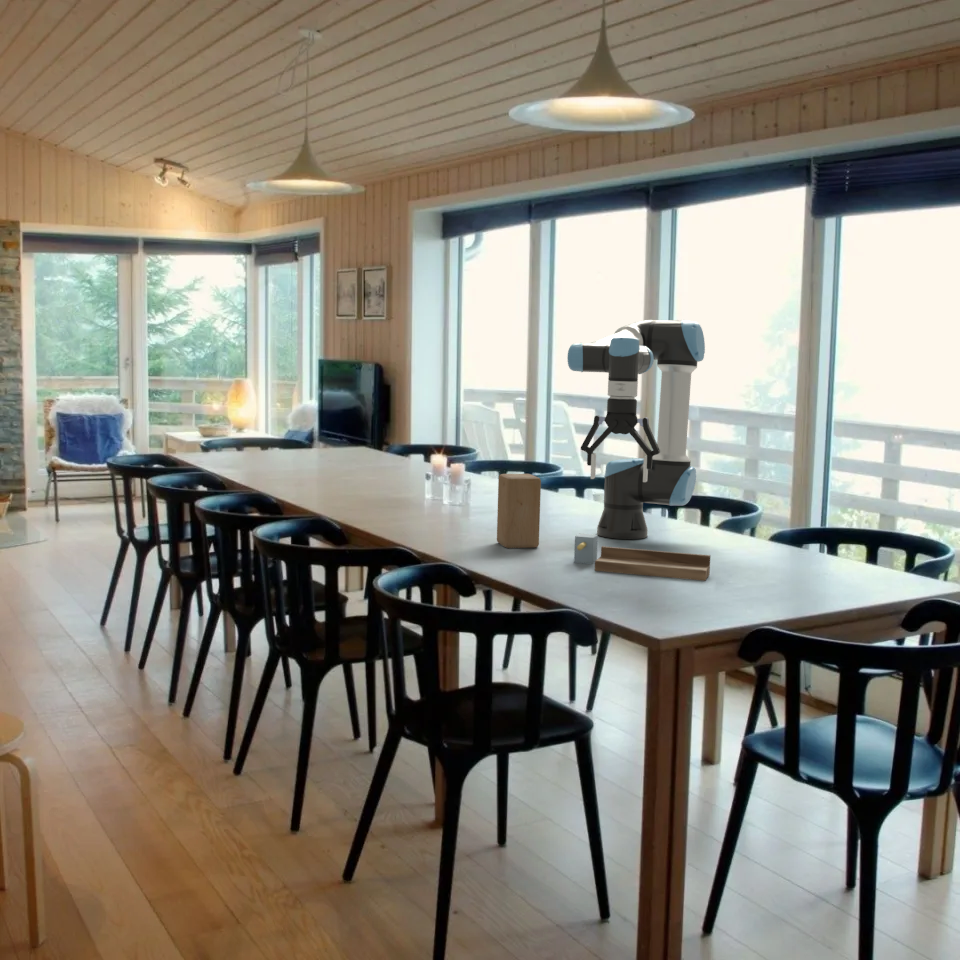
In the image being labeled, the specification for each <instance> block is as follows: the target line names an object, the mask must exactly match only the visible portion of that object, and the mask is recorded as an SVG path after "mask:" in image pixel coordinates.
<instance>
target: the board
mask: <svg viewBox="0 0 960 960" xmlns="http://www.w3.org/2000/svg"><path fill="white" fill-rule="evenodd" d="M594 571H595V572H604V573H617V574H628V575H637V576H651V577H661V578H671V579H672V578H673V579H683V580H694V581H703V582H704V581H706V580H707V579H708V578H709V576H710V571H711V554H698V553H689V552H676V551H667V550H666V551H664V550H651V549H642V548H641V549H640V548H628V547H617V546H606V545H605V546H604V545H602V546H600V557H597V560H596V561H595V562H594Z"/></svg>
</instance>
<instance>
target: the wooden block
mask: <svg viewBox="0 0 960 960" xmlns="http://www.w3.org/2000/svg"><path fill="white" fill-rule="evenodd" d="M498 475H499V476H498V481H497V482H498V483H497V485H498V486H497V488H498V489H497V491H498V492H497V517H496V518H497V520H496V521H497V523H496V542H497V543H498V544H500V545H501V546H502V547H504V548H505V549H534V548H538V547H539V545H540V520H541V518H540V517H541V515H540V514H541V495H542V494H541V492H542V491H541V490H542V488H541V487H542V480H541V478H540V477H538V476H535V475H533V474H530V473H501V474H498Z"/></svg>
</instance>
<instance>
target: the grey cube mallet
mask: <svg viewBox="0 0 960 960" xmlns="http://www.w3.org/2000/svg"><path fill="white" fill-rule="evenodd" d="M598 537H599V535H598V534H593V533H578V534H576V535H575V537H574V552H573V553H574V554H573V555H574V556H573V563H575V564H576V563H578V564H579V563H580V564H589V565H593V564H595V561H596V560H597V559H598V542H599V541H598V540H599V539H598Z"/></svg>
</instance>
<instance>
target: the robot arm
mask: <svg viewBox="0 0 960 960" xmlns="http://www.w3.org/2000/svg"><path fill="white" fill-rule="evenodd" d="M705 348H706V344H705V336H704V330H703V328H702V326H701V324H699V322H697V321H694V320H685V319H674V320H673V319H668V320H667V319H665V320H664V319H660V320H659V319H645V320H640V321H637V322H636V321H635V322H633V323H630V324H627V325H624V326H621V327H619V328H618V329H616V330H615V332H614V333H612V334H610V335H607V336H605V337H603V338H600V339H597V340H594V341H593V342H589V343H583V342H580V343H573V344H571V345H570V347H569V348H568V351H567V356H566V357H567V366H568V368H569V369H570V370H571V371H573V372H580V373H606V374H607V373H608V377H607V379H608V381H607V396H608V398H607V402H606V403H607V404H606V405H607V406H606V415H605V416H601V415H600V414H597V415H595V416H594V417H593V423H592V426H590V427H591V428H590V429H589V432H588V433H587V435H586V436H585V439H584V441H583V443H582V444H581V446H580V451H584V452H585V453H586V454H587V458H586V459H587V460H586V464H587V466H589V467H590V480H594V479H596V470H597V467H596V466H597V452H595V450H596V449H597V448H598V447H599V446H600V445H601V444H602V443H603V441H605V440H606V439H607V437H608V436H610V435H611V433H613V434H614V435H618V434H622V435H628V434H630V435H631V437H632V438H633V439H634V440H635V442H636V443H637V444H638V445H639V447H640V448H641V450H642V451H643V453H645V454H646V455H645V456H643V457H642V458H639V457H638V458H637V457H635V458H633V457H632V458H623V459H615V460H610V461H608V462H607V463H606V465H605V473H604V492H603V493H604V495H603V510H602V512H601V517H600V519H599V522H598V524H597V527H596V535H598V537H603V538H608V539H615V540H640V539H645V538H647V537H648V534H649V533H648V532H649V531H648V525H647V522H646V518H645V514H644V512H643V510H644V509H643V507H644V503H645V504H657V505H667V506H671V507H672V506H685V505H687V504H688V503H689V502H690V500H691V499H692V497H693V493H694V490H695V486H696V482H697V481H696V480H697V469H696V468H695V467H694V466H692V465H691V460H690V459H691V458H689V456H687V443H688V441H687V440H688V429H689V428H688V427H689V426H688V425H689V411H690V400H691V399H690V398H691V385H692V384H691V382H692V373H693V372H694V371H695V370H696V369H698V362H699V363H700V362H702V361H704V359H705V353H706V349H705ZM655 360H657V361H656V363H657V364H656V367H658V369H659V370H660V371H661V376H660V377H661V379H660V381H661V382H660V393H659V394H660V395H659V407H658V408H659V411H658V426H657V441H656V438H655V437H654V434H653V432H652V430H651V427H650V420H649V418H648V417H641V418H638V415H637V407H638V406H637V403H638V400H637V399H636V398H637V396H638V388H639V387H638V383H639V381H638V380H639V375H642V374H644V373H647V372H648V371H649V370H650V369H652V367H653V365H654V361H655ZM603 422H605V424H606V425H607V428H606V429H604V431H603V432H602V433H601V435H599V437H598V438H597V439H596V440H595V441H594V442H593V443H592V444H591V446H589V445H590V443H591V441H592V439H593V438H594V436H595V434H596V432H597V430H598V428H599V426H600V425H602V424H603ZM638 424H639V425H640V426H641V428H643V430H644V433H645V436H646V437H647V440H648V442H649V444H650V447H651V448H650V447H649V445H648V444H647V443H646V442H645V440H644V438H642V437H641V435H640V434H639V433H638V430H637V429H635V427H636V426H637V425H638Z"/></svg>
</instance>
